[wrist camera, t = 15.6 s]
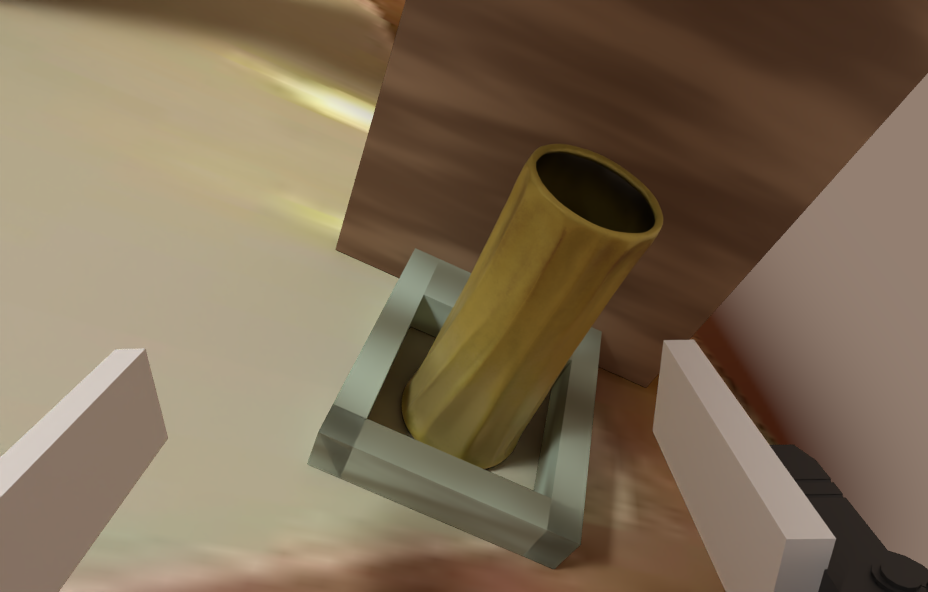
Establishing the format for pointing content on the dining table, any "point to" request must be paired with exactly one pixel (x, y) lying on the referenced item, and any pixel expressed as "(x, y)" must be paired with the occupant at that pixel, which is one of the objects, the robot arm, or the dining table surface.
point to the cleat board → (624, 142)
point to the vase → (529, 301)
